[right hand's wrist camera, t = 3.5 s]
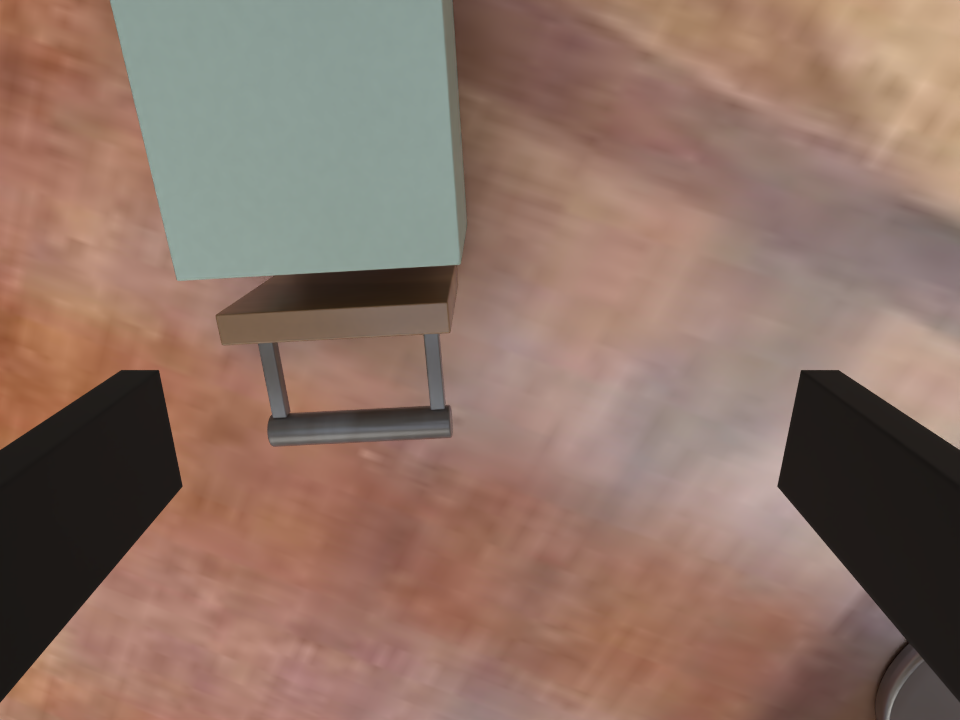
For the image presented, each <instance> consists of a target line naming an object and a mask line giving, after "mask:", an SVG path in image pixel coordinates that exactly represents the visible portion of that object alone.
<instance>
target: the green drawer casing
mask: <svg viewBox="0 0 960 720" xmlns="http://www.w3.org/2000/svg"><path fill="white" fill-rule="evenodd" d="M110 2H111V7H112V11H113V15H114V19H115V23H116V28H117V32H118V36H119V40H120V44H121V48H122V53H123V57H124V61H125V65H126V69H127V73H128V78H129V82H130V86H131V90H132V94H133V99H134V103H135V107H136V111H137V115H138V119H139V124H140V128H141V132H142V136H143V140H144V145H145V149H146V153H147V157H148V161H149V165H150V170H151V174H152V178H153V182H154V186H155V191H156V195H157V199H158V203H159V207H160V211H161V216H162V220H163V224H164V228H165V232H166V236H167V241H168V245H169V249H170V253H171V257H172V262H173V266H174V270H175V274H176V278H177V280H178V281H186V280H203V279H220V278H238V277H255V276H273V275H290V274H308V273H325V272H342V271H360V270H377V269H395V268H412V267H429V266H447V265H460V264H461V259H462V253H463V247H464V241H465V235H466V229H467V214H466V199H465V184H464V168H463V153H462V137H461V122H460V107H459V91H458V76H457V60H456V45H455V30H454V14H453V0H110Z"/></svg>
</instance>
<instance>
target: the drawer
mask: <svg viewBox="0 0 960 720" xmlns="http://www.w3.org/2000/svg"><path fill="white" fill-rule="evenodd" d="M457 288H458V277H457V265H447V266H429V267H412V268H395V269H377V270H360V271H342V272H325V273H308V274H290V275H275V276H273V277H272V278H270V279H269V280H267V281H266V282H264V283H263V284H261V285H260V286H258V287H257V288H255V289H254V290H252V291H251V292H249V293H248V294H246V295H245V296H243V297H242V298H240V299H239V300H238V301H236V302H235V303H233V304H232V305H230V306H229V307H227V308H226V309H224V310H223V311H221V312H220V313H218V314H217V315H216V320H217V325H218V329H219V334H220V338H221V343H222V345H240V344H258V345H259V350H260V355H261V361H262V366H263V371H264V376H265V381H266V386H267V391H268V396H269V401H270V406H271V411H272V415H271V416H270V418H269V421H268V429H267V430H268V439H269V442H270V444H271V445H272V446H274V447H277V446H297V445H317V444H337V443H356V442H376V441H396V440H415V439H435V438H451V437H452V432H453V425H452V410H451V406H450V405H445V391H444V379H443V368H442V356H441V344H440V333H450V331H451V325H452V319H453V313H454V306H455V300H456V294H457ZM422 334H424V344H425V355H426V365H427V376H428V386H429V397H430V406H418V407H399V408H380V409H360V410H341V411H322V412H303V413H290V407H289V402H288V396H287V391H286V386H285V380H284V375H283V369H282V364H281V359H280V353H279V348H278V343H277V342H294V341H313V340H331V339H349V338H367V337H386V336H404V335H422Z"/></svg>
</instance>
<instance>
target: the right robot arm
mask: <svg viewBox="0 0 960 720" xmlns="http://www.w3.org/2000/svg"><path fill="white" fill-rule="evenodd" d="M181 488H182V481H181V476H180V471H179V467H178V462H177V457H176V452H175V447H174V442H173V437H172V432H171V427H170V422H169V418H168V413H167V408H166V403H165V398H164V393H163V388H162V383H161V378H160V373H159V370H121V371H119V372H118V373H116V374H115V375H113V376H112V377H110V378H109V379H107V380H106V381H104V382H103V383H101V384H100V385H98V386H97V387H95V388H94V389H92V390H91V391H89V392H88V393H86V394H85V395H83V396H82V397H80V398H79V399H77V400H76V401H74V402H73V403H71V404H69V405H68V406H66V407H65V408H63V409H62V410H60V411H59V412H57V413H56V414H54V415H53V416H51V417H50V418H48V419H47V420H45V421H44V422H42V423H41V424H39V425H38V426H36V427H35V428H33V429H32V430H30V431H29V432H27V433H26V434H24V435H23V436H21V437H19V438H18V439H16V440H15V441H13V442H12V443H10V444H9V445H7V446H6V447H4V448H3V449H1V450H0V702H1V701H2V700H3V699H4V698H5V696H6V695H7V694H8V693H9V692H10V690H11V689H12V688H13V687H14V686H15V684H16V683H17V682H18V681H19V680H20V679H21V677H22V676H23V675H24V674H25V673H26V671H27V670H28V669H29V668H30V667H31V666H32V664H33V663H34V662H35V661H36V660H37V658H38V657H39V656H40V655H41V654H42V652H43V651H44V650H45V649H46V648H47V647H48V645H49V644H50V643H51V642H52V641H53V639H54V638H55V637H56V636H57V635H58V634H59V632H60V631H61V630H62V629H63V628H64V626H65V625H66V624H67V623H68V622H69V620H70V619H71V618H72V617H73V616H74V615H75V613H76V612H77V611H78V610H79V609H80V607H81V606H82V605H83V604H84V603H85V601H86V600H87V599H88V598H89V597H90V596H91V594H92V593H93V592H94V591H95V590H96V588H97V587H98V586H99V585H100V584H101V583H102V581H103V580H104V579H105V578H106V577H107V575H108V574H109V573H110V572H111V571H112V569H113V568H114V567H115V566H116V565H117V564H118V562H119V561H120V560H121V559H122V558H123V556H124V555H125V554H126V553H127V552H128V550H129V549H130V548H131V547H132V546H133V545H134V543H135V542H136V541H137V540H138V539H139V537H140V536H141V535H142V534H143V533H144V532H145V530H146V529H147V528H148V527H149V526H150V524H151V523H152V522H153V521H154V520H155V518H156V517H157V516H158V515H159V514H160V513H161V511H162V510H163V509H164V508H165V507H166V505H167V504H168V503H169V502H170V501H171V499H172V498H173V497H174V496H175V495H176V494H177V492H178V491H179V490H180V489H181ZM778 488H779V489H780V490H781V491H782V492H783V494H784V495H785V496H786V497H787V498H788V499H789V501H790V502H791V503H792V504H793V505H794V507H795V508H796V509H797V510H798V511H799V513H800V514H801V515H802V516H803V517H804V518H805V520H806V521H807V522H808V523H809V524H810V526H811V527H812V528H813V529H814V530H815V532H816V533H817V534H818V535H819V536H820V537H821V539H822V540H823V541H824V542H825V543H826V545H827V546H828V547H829V548H830V549H831V550H832V552H833V553H834V554H835V555H836V556H837V558H838V559H839V560H840V561H841V562H842V564H843V565H844V566H845V567H846V568H847V569H848V571H849V572H850V573H851V574H852V575H853V577H854V578H855V579H856V580H857V581H858V583H859V584H860V585H861V586H862V587H863V588H864V590H865V591H866V592H867V593H868V594H869V596H870V597H871V598H872V599H873V600H874V601H875V603H876V604H877V605H878V606H879V607H880V609H881V610H882V611H883V612H884V613H885V615H886V616H887V617H888V618H889V619H890V620H891V622H892V623H893V624H894V625H895V626H896V628H897V629H898V630H899V631H900V632H901V634H902V635H903V636H904V637H905V638H906V639H907V641H908V642H909V644H908V645H907V646H906V647H905V648H904V649H903V650H902V651H901V652H900V653H899V655H898V656H897V657H896V658H895V659H894V661H893V662H892V663H891V665H890V666H889V668H888V669H887V671H886V673H885V674H884V676H883V679H882V681H881V683H880V686H879V689H878V692H877V697H876V704H875V712H876V719H877V720H960V450H959V449H957V448H956V447H954V446H953V445H951V444H950V443H948V442H947V441H945V440H944V439H942V438H941V437H939V436H937V435H936V434H934V433H933V432H931V431H930V430H928V429H927V428H925V427H924V426H922V425H921V424H919V423H918V422H916V421H915V420H913V419H912V418H910V417H909V416H907V415H906V414H904V413H903V412H901V411H900V410H898V409H897V408H895V407H894V406H892V405H891V404H889V403H887V402H886V401H884V400H883V399H881V398H880V397H878V396H877V395H875V394H874V393H872V392H871V391H869V390H868V389H866V388H865V387H863V386H862V385H860V384H859V383H857V382H856V381H854V380H853V379H851V378H850V377H848V376H847V375H845V374H844V373H842V372H841V371H839V370H801V373H800V378H799V383H798V388H797V393H796V398H795V403H794V408H793V413H792V417H791V422H790V427H789V432H788V437H787V442H786V447H785V452H784V457H783V462H782V467H781V471H780V476H779V481H778Z"/></svg>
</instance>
